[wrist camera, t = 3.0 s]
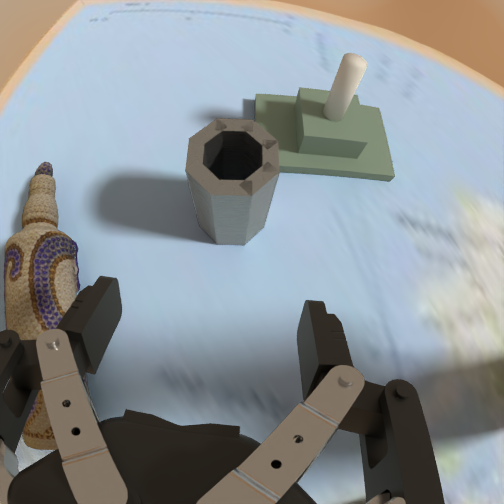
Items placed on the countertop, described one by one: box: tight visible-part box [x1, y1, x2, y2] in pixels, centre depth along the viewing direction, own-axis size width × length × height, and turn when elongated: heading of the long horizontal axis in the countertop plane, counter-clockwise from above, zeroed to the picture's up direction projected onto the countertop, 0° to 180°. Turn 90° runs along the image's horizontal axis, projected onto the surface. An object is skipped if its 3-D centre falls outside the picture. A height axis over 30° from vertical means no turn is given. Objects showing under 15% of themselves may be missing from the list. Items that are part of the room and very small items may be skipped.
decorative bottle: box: [4, 162, 89, 450], centre depth 23 cm, size 26×8×7 cm, turn 10°
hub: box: [185, 119, 280, 245], centre depth 24 cm, size 6×6×10 cm
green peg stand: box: [255, 53, 395, 181], centre depth 26 cm, size 14×9×11 cm, turn 89°
